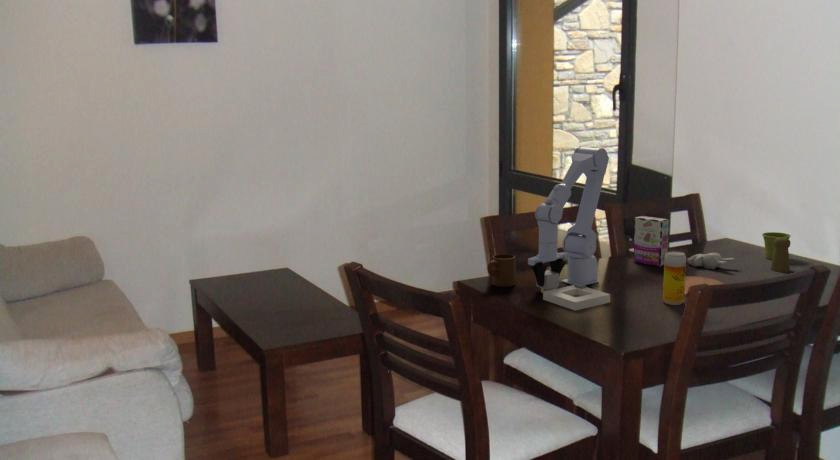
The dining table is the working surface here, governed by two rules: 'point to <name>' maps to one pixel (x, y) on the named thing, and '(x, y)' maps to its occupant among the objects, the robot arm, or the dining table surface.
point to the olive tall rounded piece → (781, 255)
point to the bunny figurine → (709, 260)
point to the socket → (576, 297)
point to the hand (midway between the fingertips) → (547, 284)
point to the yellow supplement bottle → (674, 278)
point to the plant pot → (772, 242)
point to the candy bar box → (650, 240)
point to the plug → (550, 281)
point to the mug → (503, 270)
